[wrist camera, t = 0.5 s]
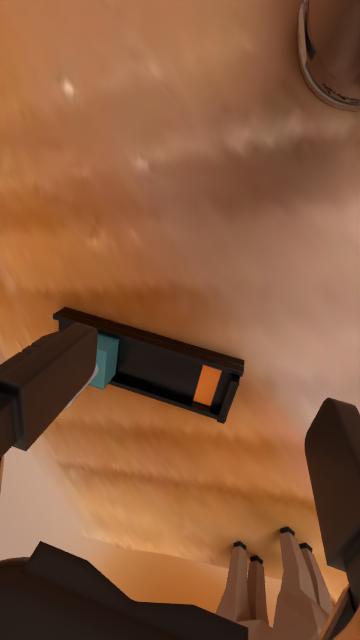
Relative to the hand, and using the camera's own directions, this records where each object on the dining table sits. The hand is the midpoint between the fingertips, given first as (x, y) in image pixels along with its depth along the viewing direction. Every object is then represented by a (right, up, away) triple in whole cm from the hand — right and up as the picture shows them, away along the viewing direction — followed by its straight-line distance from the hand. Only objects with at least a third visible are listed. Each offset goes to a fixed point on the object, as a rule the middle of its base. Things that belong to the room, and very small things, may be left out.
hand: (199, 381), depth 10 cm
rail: (-5, -2, +23) cm, 23 cm away
